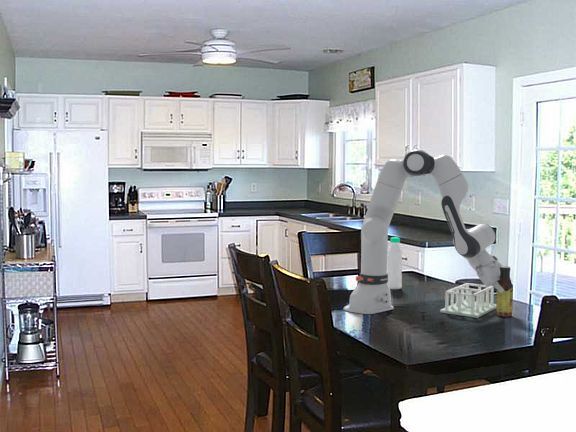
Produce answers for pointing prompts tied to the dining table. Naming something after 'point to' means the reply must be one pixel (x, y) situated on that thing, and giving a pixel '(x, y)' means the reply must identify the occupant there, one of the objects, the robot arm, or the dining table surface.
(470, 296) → the dish rack
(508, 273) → the sauce bottle
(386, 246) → the robot arm
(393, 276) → the water bottle
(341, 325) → the dining table surface
